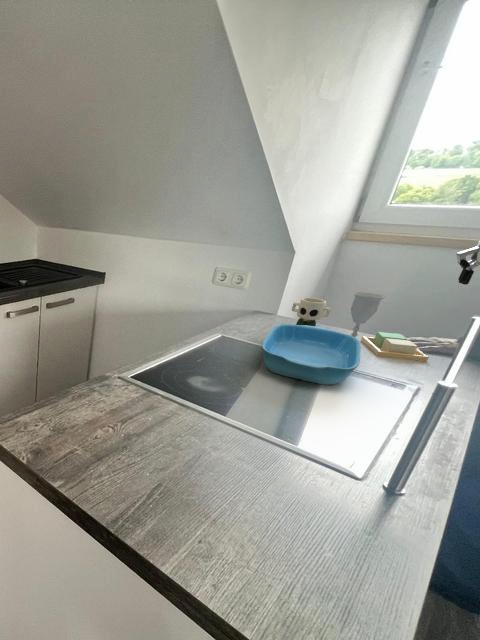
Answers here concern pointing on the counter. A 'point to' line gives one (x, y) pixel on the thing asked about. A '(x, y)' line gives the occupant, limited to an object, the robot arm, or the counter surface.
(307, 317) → the character mug
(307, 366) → the casserole dish
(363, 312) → the chalice
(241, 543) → the counter surface
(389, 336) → the green block
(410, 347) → the beige block
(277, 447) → the counter surface
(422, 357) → the backing tray
